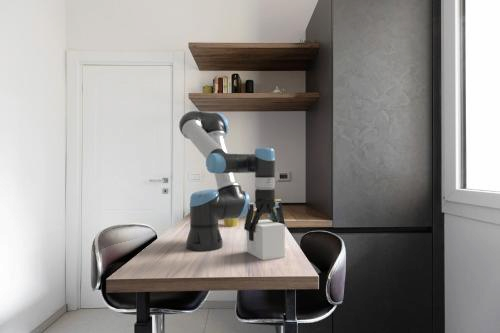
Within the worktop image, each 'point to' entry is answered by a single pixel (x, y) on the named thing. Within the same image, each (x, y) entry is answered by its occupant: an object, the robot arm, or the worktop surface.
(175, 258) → the worktop surface
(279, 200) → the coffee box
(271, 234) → the white upright box
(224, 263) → the worktop surface
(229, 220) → the plant pot
